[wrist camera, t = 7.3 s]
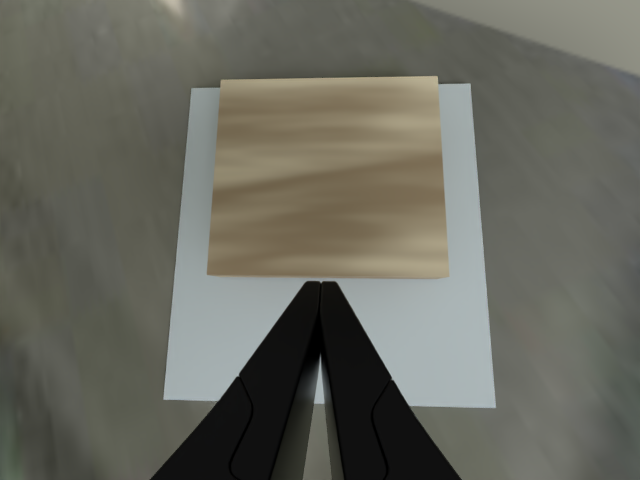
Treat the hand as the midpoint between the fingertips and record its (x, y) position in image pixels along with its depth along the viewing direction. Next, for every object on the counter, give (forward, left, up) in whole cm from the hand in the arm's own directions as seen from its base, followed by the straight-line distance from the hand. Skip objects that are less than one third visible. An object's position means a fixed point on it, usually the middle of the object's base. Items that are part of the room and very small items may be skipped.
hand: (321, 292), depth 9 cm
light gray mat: (+2, +2, -8) cm, 9 cm away
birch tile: (+1, +1, -7) cm, 7 cm away
